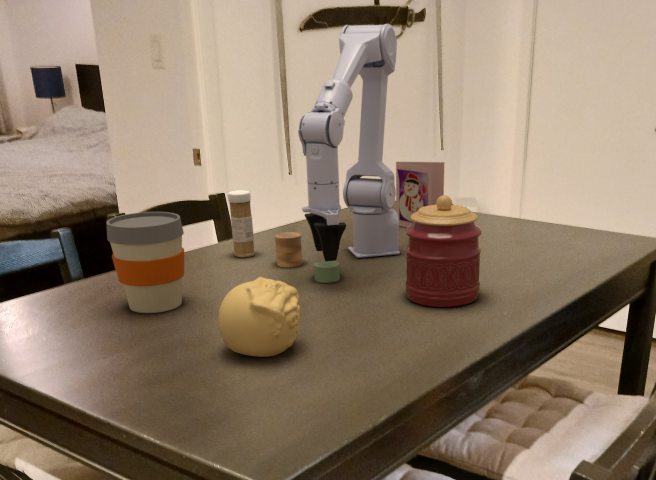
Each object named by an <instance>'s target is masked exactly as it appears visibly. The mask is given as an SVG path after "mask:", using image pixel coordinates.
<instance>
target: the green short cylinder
mask: <svg viewBox="0 0 656 480" xmlns="http://www.w3.org/2000/svg"><path fill="white" fill-rule="evenodd" d="M313 270H314V281H315V282H317V283H322V284H329V283H336V282H339V281H340V279H341V274H340V271H341V270H340V263H339V262H338V261H337V260H336V261H325V260H321V261H317V262H315V263H314V264H313Z"/></svg>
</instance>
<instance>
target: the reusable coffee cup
mask: <svg viewBox="0 0 656 480" xmlns="http://www.w3.org/2000/svg"><path fill="white" fill-rule="evenodd" d="M184 232H185V231H184V227H183V223H182V219H181V216H180V215H179V214H178V213H175V212H168V211H143V212H134V213H127V214H126V213H125V214H122V215H118V216H114V217H112V218H109V219H108V220H106V237H107V238H106V239H107V241H108V242H109V243H110V247H111V250H112V254H111V260H112V262H113V266H114V269H115V272H116V275H117V279H118V282H119V283H120V284H122V287H123V291H124V293H125V298H126V300H127V301H126V302H127V303H128V306H129V309H130V310H131V311H132V312H135V313H141V314H156V313H163V312H168V311H171V310H175V309H176V308H178V307H180V306H181V305H182V302H183V288H182V287H183V277H184V276H185V248H184V247H183V235H184V234H185V233H184Z"/></svg>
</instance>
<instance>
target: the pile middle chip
mask: <svg viewBox="0 0 656 480" xmlns="http://www.w3.org/2000/svg"><path fill="white" fill-rule="evenodd" d="M274 240H275V242H274V243H275V252H276V251H277V252H281V253H293V252H298V251H300V250H301V249H302V248H303V247H302V235H301V233H299V232H295V231H286V232H284V231H283V232H278V233H277V234H275V235H274ZM302 250H303V249H302Z"/></svg>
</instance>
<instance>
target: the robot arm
mask: <svg viewBox="0 0 656 480" xmlns="http://www.w3.org/2000/svg"><path fill="white" fill-rule="evenodd" d="M338 46H339V53H340V57H339V59H338V61H337V65H336V68H335V70H334V73H333V77H332V79H328V80H326V81H324V83H323V84H322V87H321V89H320V91H319V93H318V96H317V98H316V100H315V102H314V104H313V106H312V109H311V110H310V111H307V112H306V113H305V114H303V116H301V118H300V120H299V123H298V130H297V132H298V138H299V142H300V143H301V146H302V153H303V156H305V161H306V180H307V181H306V182H307V200H308V202H307V203H308V205H307V206H302V208H301V211H302V212H303V213H305V214H304V218H305V219H306V221H307V223H308V225H309V228H310V232H311V235H312V239H313V244H314V247H315V250H316V252H322V256H323V259H324V261H336V262H337V259H338V255H339V250H340V244H341V240H342V238H343V234H344V233H345V230H346V228H347V224H346V222H340V220H339V215H340V212H341V211H342V206H341V202H340V201H341V200H340V174H339V173H340V171H339V146H340V144H341V142H342V141H343V138H344V127H345V123H346V121H345V116H346V114H347V112H348V109H349V107H350V105H351V103H352V101H353V91H352V89H351V88H352V87H353V85H354V83H355V81H356V79H357V78H358V76H360V77H361V79H362V88H361V89H362V90H361V105H360V107H361V108H360V123H359V124H360V125H359V139H358V159H357V162H356V163H354V164H353V165H352V166H351V167H350V168H348V169H347V170H346V175H345V182H344V184H343V187H342V199H343V202H344V204H345V206H346V207H347V208H348V209H349V212H352V240H353V241H352V242H353V246H348V248H347V250H349V252H351V254H353V256H354V257H355V258H357V259H361V258H373V257H375V258H376V257H383V256H393V255H394V256H395V255H400V254H401V251H400V226H399V220H398V215H397V212H396V209H394V208H392V207H393V206H394V204H395V203H396V176H395V173H394V172H393V171H392V170H391V168H389V167H388V166H387V165H386V163H384V162H383V155H384V140H385V127H386V125H385V123H386V112H387V94H388V81H389V76H390V75H392V74H393V73H395V71H396V63H397V52H398V51H397V49H398V40H397V36H396V32H395V29H394V27H393V26H392V24H389V23H385V24H367V25H366V24H365V25H350V24H345V25H344V26H343V27H342V29H341V31H340V33H339V38H338ZM371 177H378V178H371Z"/></svg>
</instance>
